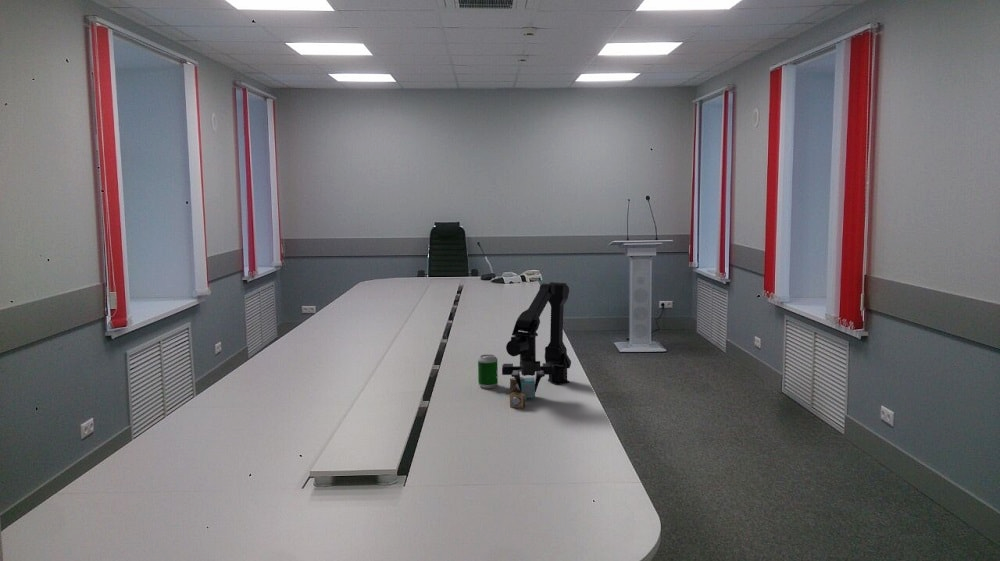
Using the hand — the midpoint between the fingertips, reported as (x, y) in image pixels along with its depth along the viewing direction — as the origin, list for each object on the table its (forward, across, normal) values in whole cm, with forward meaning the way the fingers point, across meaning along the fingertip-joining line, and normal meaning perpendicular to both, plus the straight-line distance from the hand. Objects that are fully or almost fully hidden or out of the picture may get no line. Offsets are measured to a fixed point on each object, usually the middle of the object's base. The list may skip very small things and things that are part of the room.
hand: (528, 391), depth 237 cm
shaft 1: (+2, -4, +8) cm, 9 cm away
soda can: (+3, -15, +15) cm, 22 cm away
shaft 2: (+2, -4, -8) cm, 9 cm away
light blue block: (+1, 0, 0) cm, 1 cm away
